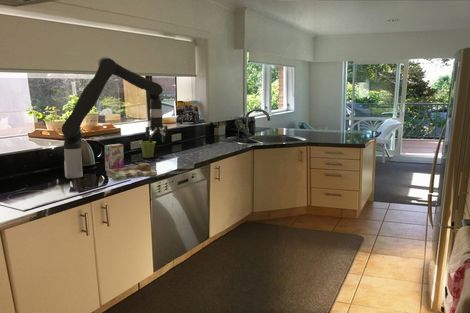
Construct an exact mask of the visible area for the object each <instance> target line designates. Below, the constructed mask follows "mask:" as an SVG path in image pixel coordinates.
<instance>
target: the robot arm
mask: <svg viewBox="0 0 470 313" xmlns="http://www.w3.org/2000/svg"><path fill="white" fill-rule="evenodd" d="M97 67H98V68H97V70H96V73H95V74H94V77H93V78H92V79H91V80H90V81H89V82H88V83H87V84H86V86H85V87H84V89H83V90H82V91H81V93H80V95H79V97H78V99H77V101H76V103H75V104H74V107H73V110H72V111H71V113H70V115H69V116H68V118H67V119H66V120H65V121H64V123H63V124H62V126H61V133H62V135H63V136H64V142H63V151H64V152H63V155H64V161H63V163H64V164H63V165H64V177H65V178H66V179H80V178H82V177H83V176H84V175H83V173H84V172H83V161H82V159H83V158H82V157H83V156H82V127H81V125H82V123H83V121H84V119H85V117H86V116H88V114H89V113H90V112H91V111H92V110H93V108H94V106H95V105H96V103H97V101H98V100H99V98H100V95H101V93H102V92H103V90H104V88H105V86H106V84H107V83H108V81H109V80H110V79H111V77H112V75H114V76H116V77H118V78H120V79H122V80H123V81H126V82H127V83H130V84H131V85H132V86H134V87H137V88H138V89H141V90H143V91H147V93H148V98H149V108H150V109H149V121H150V122H149V124H150V125H148V126H147V125H146V126H145V137H148V141H149V142H150V143H152V141H153V135H154V134H157V133H160V134H161V142H162V143H164V142H165V141H166V136H168V134H169V133H168V132H169V131H168V127H169V126H168V125H167V124H164V125H163V122H164V119H163V109H162V105H163V103H162V100H161V99H160V98H161V97H160V95H161V94H162V93H163V87H162V85H161V84H160V83H158V82H155V81H153V80H150V79H148V78H146V77H144V76H142V75H140V74H138V73H137V72H134V71H132V70H129V69H127V68H125V67H123V66H121V65H120V64H119V63H117V62H115V60H114V59H113V58H111V57H109V56H103V57H101V58H100V59H98V62H97Z"/></svg>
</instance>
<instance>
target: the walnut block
mask: <svg viewBox="0 0 470 313" xmlns="http://www.w3.org/2000/svg"><path fill="white" fill-rule="evenodd" d="M137 166H138V170H141V171H146V170H151V169H152V164H151V163H148V162H143V163H141V162H140V163H137Z"/></svg>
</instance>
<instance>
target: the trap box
mask: <svg viewBox="0 0 470 313" xmlns="http://www.w3.org/2000/svg"><path fill="white" fill-rule="evenodd" d="M106 169H107V171H106V176H107V177H109V178H110V179H111V178H112V179H111V180H113V181H121V180H128V179H134V178H136V179H137V178H143V177H151V176H157V175H158V174H157V171H156V170H154V169H152V168H151V170H146V171H141V170H138V165H137V166H128V167H124V168H119V169H109V168H106Z"/></svg>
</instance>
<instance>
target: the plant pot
mask: <svg viewBox="0 0 470 313" xmlns="http://www.w3.org/2000/svg"><path fill="white" fill-rule="evenodd" d="M156 143H157V141H153V140H152V143H150V142H149V140H146V141H140V142H139V144H140V147H141V151H142V157H143V158H144V159H150V158H151V157H152V158H154V154H155V153H154V152H155V146H156Z"/></svg>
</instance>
